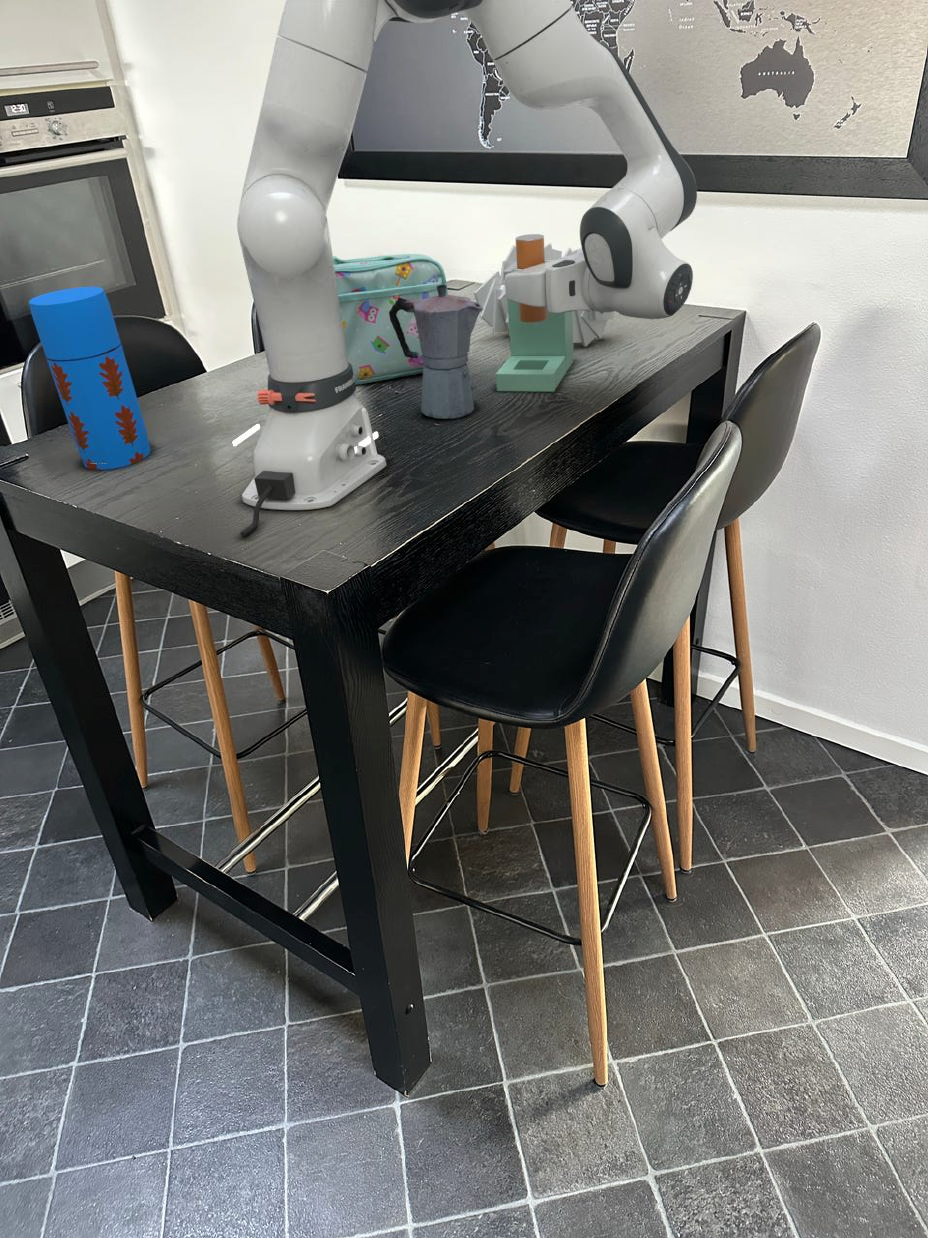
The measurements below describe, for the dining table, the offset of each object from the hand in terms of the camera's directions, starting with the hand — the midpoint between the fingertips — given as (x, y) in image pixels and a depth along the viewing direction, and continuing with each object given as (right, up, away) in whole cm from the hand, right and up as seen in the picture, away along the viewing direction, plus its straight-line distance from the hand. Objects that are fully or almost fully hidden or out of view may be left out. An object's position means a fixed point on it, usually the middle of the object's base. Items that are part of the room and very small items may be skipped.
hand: (527, 269), depth 144 cm
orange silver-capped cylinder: (+1, -7, +3) cm, 8 cm away
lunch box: (-25, -10, +25) cm, 37 cm away
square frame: (+2, -14, +14) cm, 20 cm away
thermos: (-66, -30, +1) cm, 72 cm away
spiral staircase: (+7, -1, +34) cm, 35 cm away
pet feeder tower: (+4, -10, +20) cm, 23 cm away
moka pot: (-13, -21, +5) cm, 26 cm away
